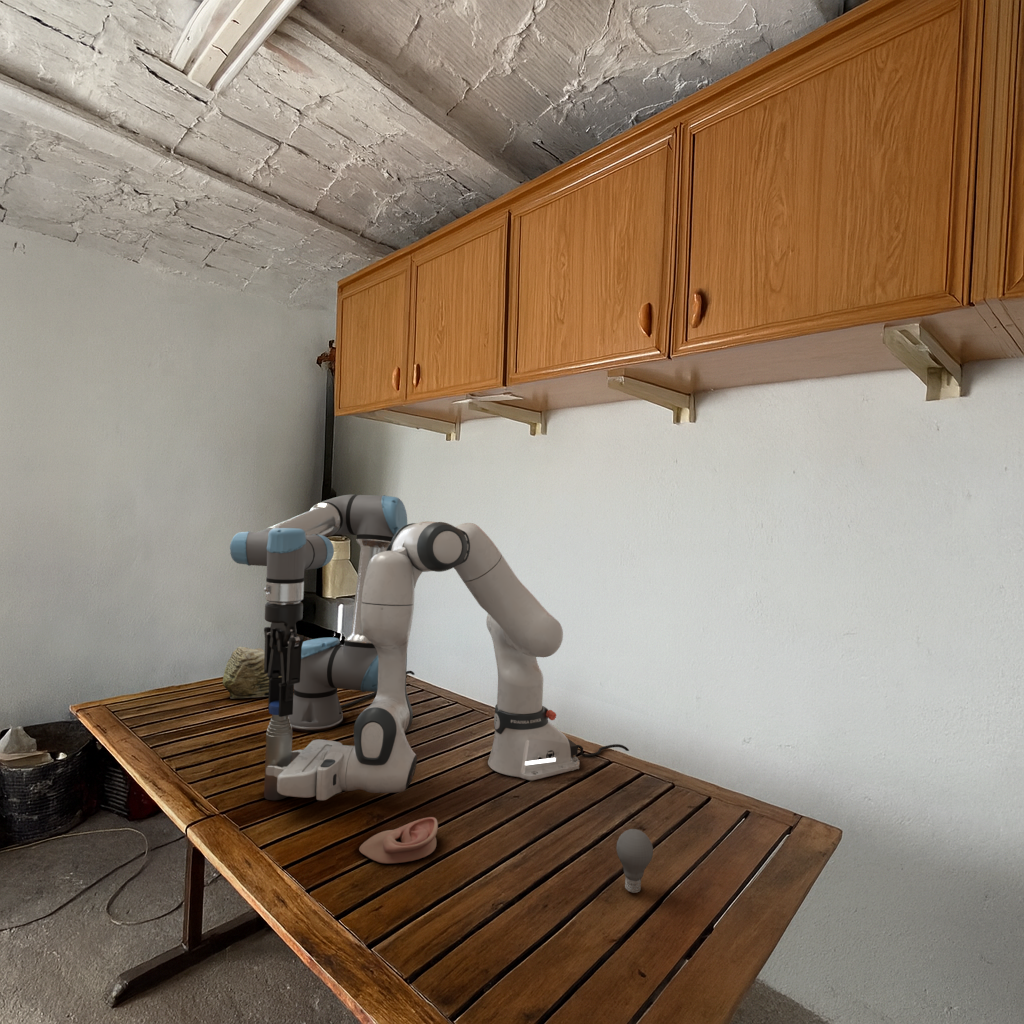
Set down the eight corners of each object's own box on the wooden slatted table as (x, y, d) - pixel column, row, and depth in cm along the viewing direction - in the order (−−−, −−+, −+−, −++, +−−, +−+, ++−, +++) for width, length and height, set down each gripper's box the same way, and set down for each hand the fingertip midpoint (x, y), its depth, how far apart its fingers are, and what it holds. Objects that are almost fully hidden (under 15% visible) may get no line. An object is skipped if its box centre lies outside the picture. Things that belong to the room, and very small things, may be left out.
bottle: (295, 792, 135) (298, 704, 135) (278, 802, 131) (282, 711, 130) (275, 787, 137) (278, 700, 137) (258, 797, 132) (261, 707, 132)
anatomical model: (352, 836, 111) (378, 805, 123) (351, 858, 111) (377, 826, 123) (423, 847, 109) (444, 815, 120) (422, 870, 109) (443, 836, 120)
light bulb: (610, 879, 108) (613, 822, 108) (644, 879, 109) (647, 822, 109) (619, 902, 102) (622, 840, 102) (655, 901, 103) (658, 840, 103)
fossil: (218, 695, 195) (220, 647, 195) (278, 685, 208) (279, 640, 207) (228, 703, 189) (230, 653, 188) (289, 692, 201) (290, 645, 201)
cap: (264, 713, 132) (264, 705, 132) (276, 707, 136) (276, 699, 136) (284, 716, 131) (284, 707, 131) (295, 709, 135) (295, 701, 135)
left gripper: (249, 597, 137) (245, 704, 137) (285, 609, 124) (281, 727, 125) (283, 594, 142) (279, 698, 142) (321, 606, 130) (316, 719, 130)
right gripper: (354, 734, 143) (294, 730, 144) (322, 772, 123) (252, 768, 124) (352, 761, 143) (293, 757, 144) (321, 805, 123) (251, 800, 124)
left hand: (280, 711), depth 134 cm, fingers closed on cap, 4 cm apart
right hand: (274, 762), depth 134 cm, fingers closed on bottle, 5 cm apart
